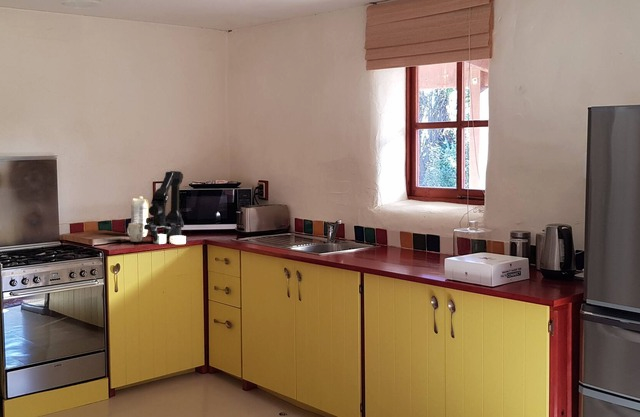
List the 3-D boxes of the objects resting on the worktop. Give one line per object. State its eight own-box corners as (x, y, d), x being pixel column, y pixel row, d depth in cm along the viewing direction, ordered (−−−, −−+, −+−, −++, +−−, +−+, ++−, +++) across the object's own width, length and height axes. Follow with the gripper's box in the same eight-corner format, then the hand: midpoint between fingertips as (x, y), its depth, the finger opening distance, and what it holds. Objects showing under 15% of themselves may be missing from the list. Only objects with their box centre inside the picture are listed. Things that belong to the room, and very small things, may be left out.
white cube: (160, 242, 429) (160, 233, 429) (166, 243, 426) (166, 234, 426) (153, 243, 425) (153, 234, 425) (159, 244, 422) (159, 235, 422)
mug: (134, 242, 424) (135, 225, 423) (120, 239, 431) (120, 222, 430) (146, 241, 430) (146, 224, 429) (132, 238, 438) (132, 221, 437)
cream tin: (178, 241, 435) (178, 234, 434) (188, 243, 429) (189, 236, 429) (166, 243, 428) (166, 236, 427) (176, 245, 422) (177, 238, 422)
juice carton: (148, 235, 452) (149, 196, 449) (146, 237, 444) (146, 197, 441) (133, 235, 452) (133, 195, 449) (130, 237, 444) (130, 196, 441)
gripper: (163, 211, 436) (163, 238, 438) (138, 213, 422) (137, 241, 423) (176, 213, 429) (176, 240, 431) (150, 215, 415) (150, 243, 416)
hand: (159, 241), depth 426 cm, fingers open, 6 cm apart
